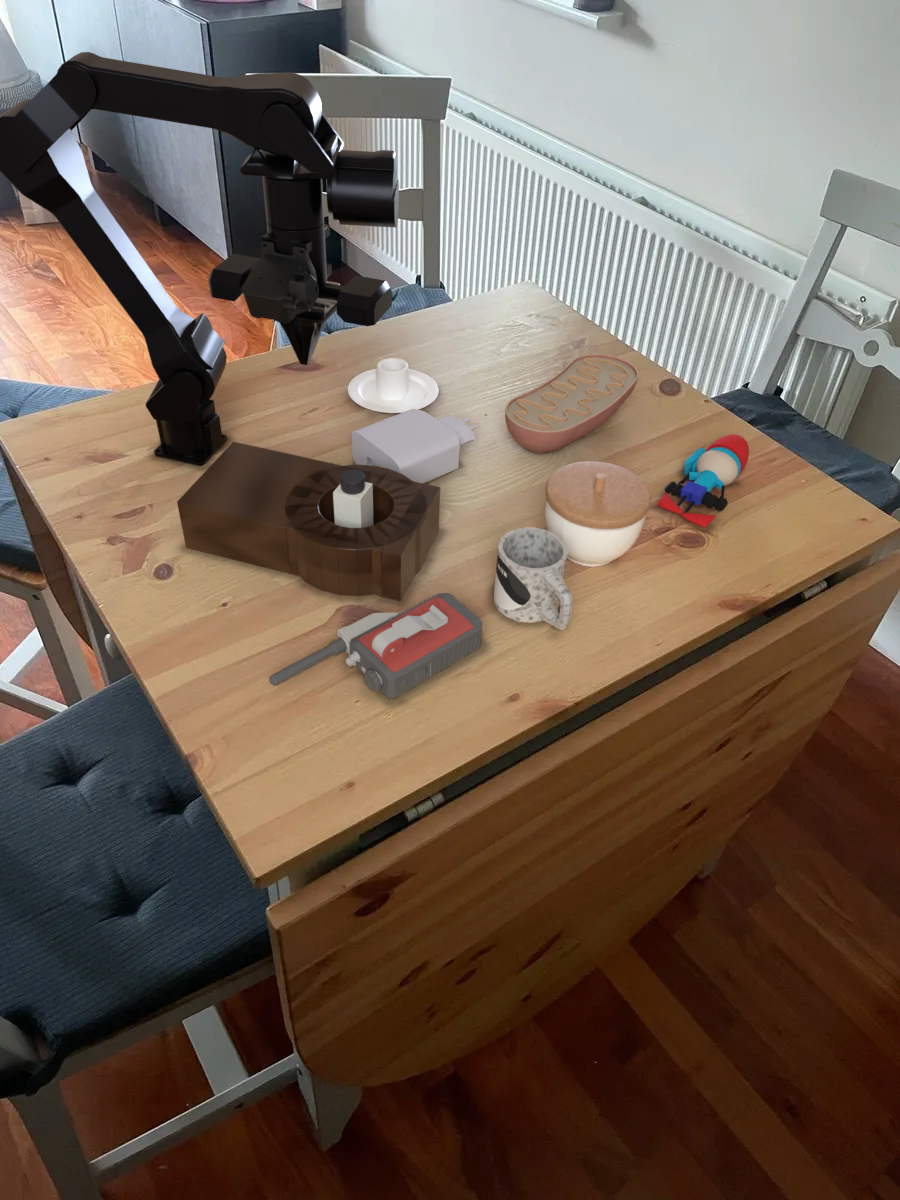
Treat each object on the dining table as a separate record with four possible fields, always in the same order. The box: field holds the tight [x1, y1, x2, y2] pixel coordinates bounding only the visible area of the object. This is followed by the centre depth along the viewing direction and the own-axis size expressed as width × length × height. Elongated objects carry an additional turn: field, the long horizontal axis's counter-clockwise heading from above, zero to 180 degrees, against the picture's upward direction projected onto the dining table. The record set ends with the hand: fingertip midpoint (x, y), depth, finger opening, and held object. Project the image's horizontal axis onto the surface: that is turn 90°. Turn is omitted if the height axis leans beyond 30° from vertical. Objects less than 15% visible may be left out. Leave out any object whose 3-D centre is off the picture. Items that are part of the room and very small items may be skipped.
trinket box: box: [544, 460, 652, 568], centre depth 95 cm, size 11×11×9 cm
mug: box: [493, 526, 574, 631], centre depth 89 cm, size 10×7×7 cm
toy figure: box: [657, 433, 750, 528], centre depth 106 cm, size 8×5×15 cm
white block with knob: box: [333, 470, 373, 528], centre depth 94 cm, size 9×3×3 cm
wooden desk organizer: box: [176, 441, 441, 602], centre depth 96 cm, size 24×14×6 cm, turn 72°
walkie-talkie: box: [268, 592, 483, 699], centre depth 83 cm, size 9×4×20 cm
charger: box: [351, 409, 480, 484], centre depth 109 cm, size 5×9×15 cm
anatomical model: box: [504, 353, 639, 454], centre depth 115 cm, size 23×10×5 cm, turn 142°
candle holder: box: [347, 357, 440, 414], centre depth 120 cm, size 12×12×4 cm
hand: (305, 363), depth 102 cm, fingers closed
